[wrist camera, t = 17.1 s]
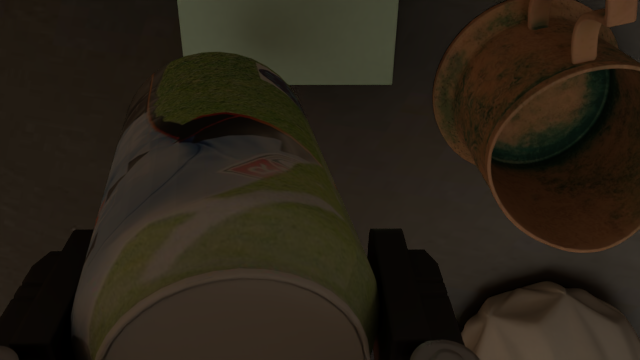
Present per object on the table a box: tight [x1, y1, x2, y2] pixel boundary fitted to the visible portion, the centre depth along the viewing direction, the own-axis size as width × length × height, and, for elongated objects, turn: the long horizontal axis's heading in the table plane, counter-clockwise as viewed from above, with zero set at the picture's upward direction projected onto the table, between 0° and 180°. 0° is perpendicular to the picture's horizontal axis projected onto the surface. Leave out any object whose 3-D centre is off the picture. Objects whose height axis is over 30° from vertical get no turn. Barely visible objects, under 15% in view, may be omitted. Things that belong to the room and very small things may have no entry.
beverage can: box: [70, 52, 380, 360], centre depth 15 cm, size 6×7×12 cm
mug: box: [433, 0, 640, 253], centre depth 30 cm, size 12×18×12 cm, turn 12°
